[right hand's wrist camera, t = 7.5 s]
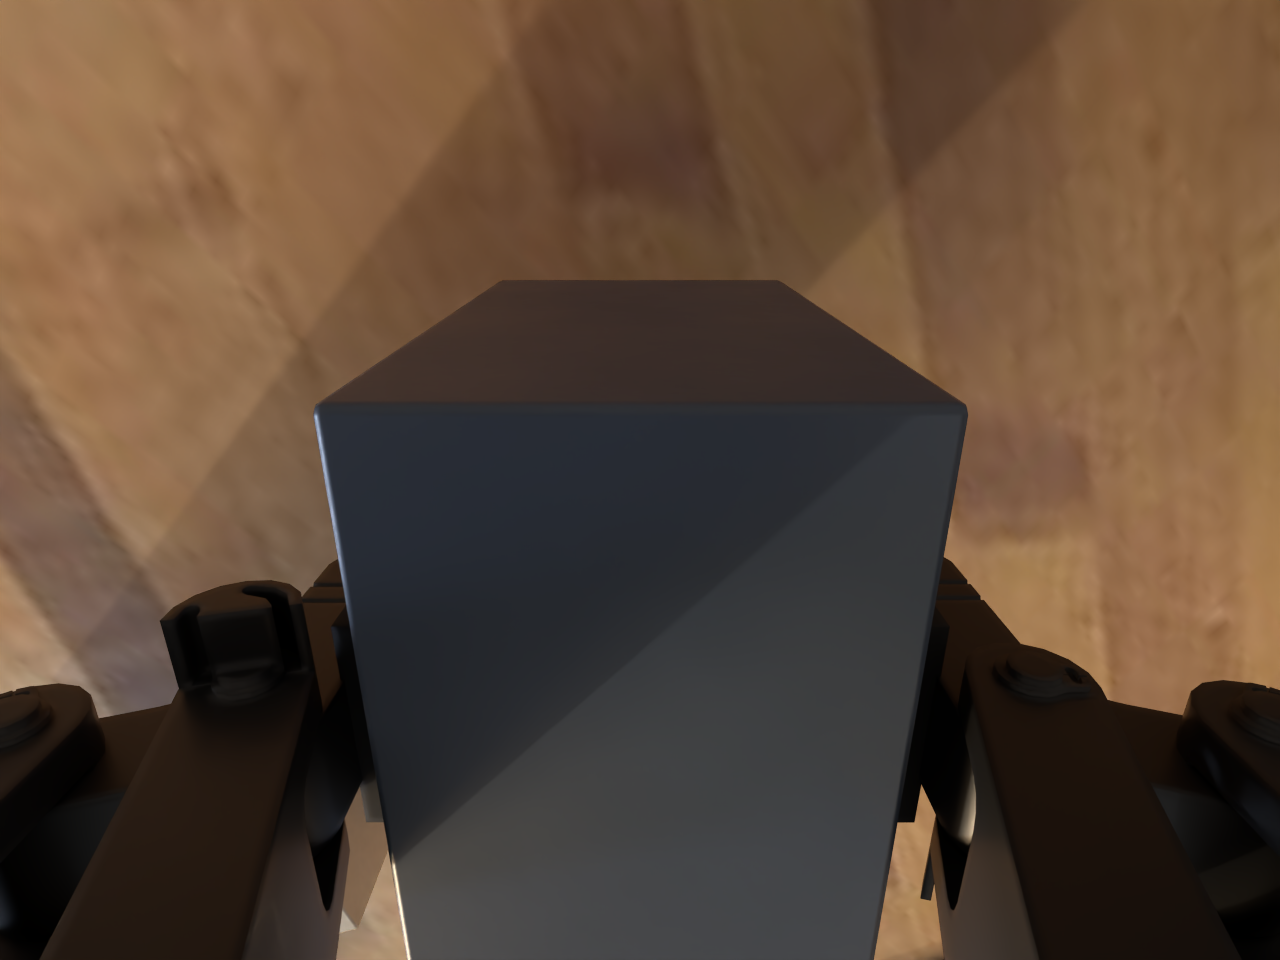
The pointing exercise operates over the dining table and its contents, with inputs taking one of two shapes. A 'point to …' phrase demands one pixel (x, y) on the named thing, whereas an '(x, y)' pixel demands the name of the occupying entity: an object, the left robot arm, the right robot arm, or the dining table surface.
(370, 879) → the white ceramic cube
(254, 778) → the right robot arm
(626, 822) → the grey long box
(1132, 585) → the dining table surface
